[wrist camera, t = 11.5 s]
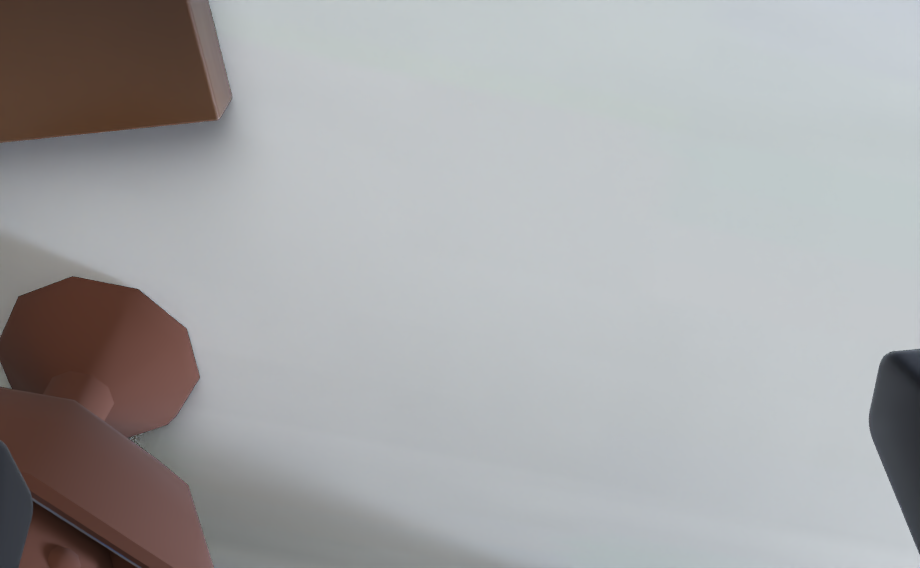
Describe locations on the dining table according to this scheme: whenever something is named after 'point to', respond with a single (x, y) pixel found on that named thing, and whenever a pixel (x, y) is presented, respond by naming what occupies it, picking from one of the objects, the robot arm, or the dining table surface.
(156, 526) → the ice cream bowl
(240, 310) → the dining table surface
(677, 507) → the dining table surface
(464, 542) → the dining table surface
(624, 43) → the dining table surface
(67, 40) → the walnut board
